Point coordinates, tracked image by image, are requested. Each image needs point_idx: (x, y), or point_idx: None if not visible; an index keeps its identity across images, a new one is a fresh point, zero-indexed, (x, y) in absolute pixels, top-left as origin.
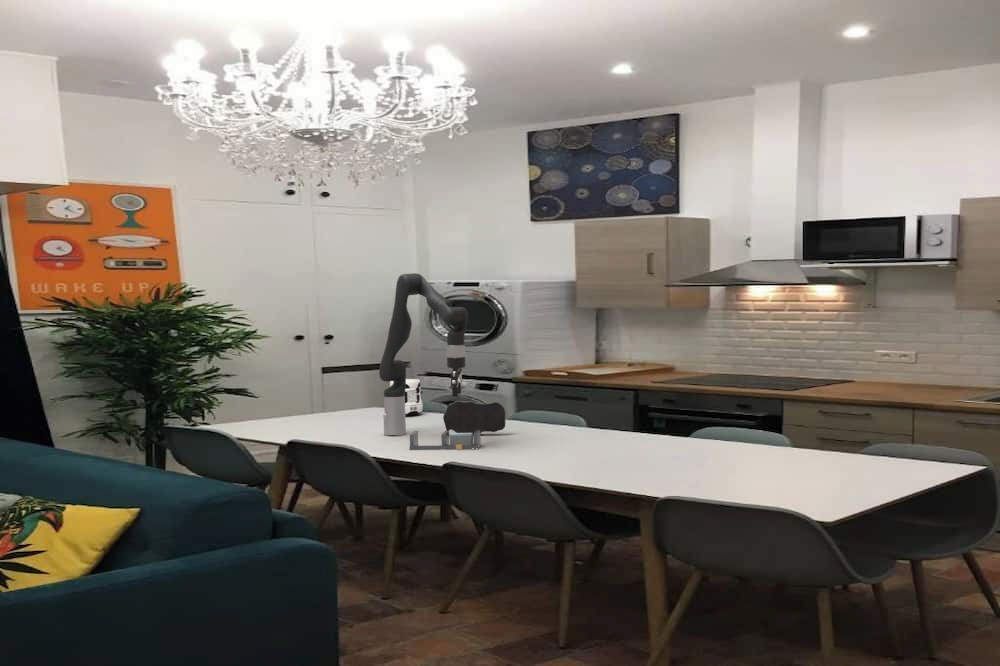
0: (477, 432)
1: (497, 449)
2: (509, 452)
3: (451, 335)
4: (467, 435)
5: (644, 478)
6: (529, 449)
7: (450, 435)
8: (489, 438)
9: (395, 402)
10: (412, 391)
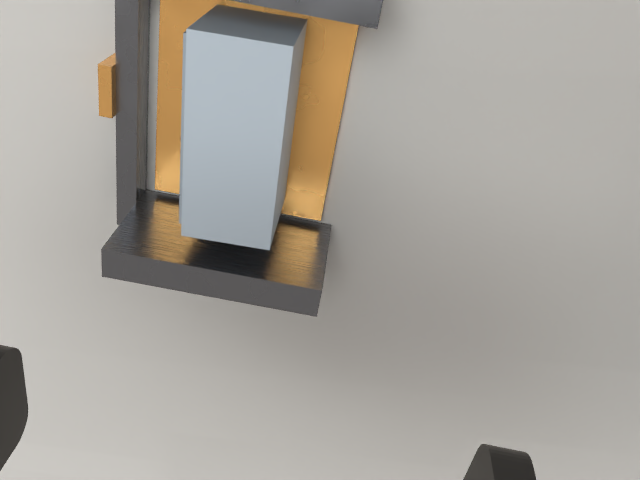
0: (189, 287)
1: (113, 324)
2: None
3: None
4: (185, 196)
5: None
6: (105, 459)
7: (189, 34)
8: (606, 330)
9: None
10: None
